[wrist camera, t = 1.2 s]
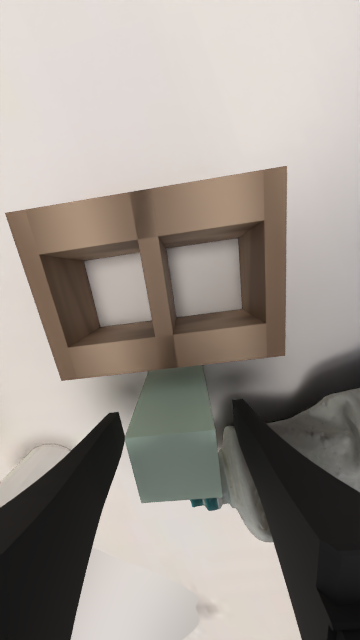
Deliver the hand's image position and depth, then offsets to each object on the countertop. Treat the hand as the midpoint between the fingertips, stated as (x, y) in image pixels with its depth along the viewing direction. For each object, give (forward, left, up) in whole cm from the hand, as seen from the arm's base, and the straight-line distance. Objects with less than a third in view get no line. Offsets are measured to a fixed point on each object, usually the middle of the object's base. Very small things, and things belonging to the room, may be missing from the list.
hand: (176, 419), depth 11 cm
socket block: (0, -8, -4) cm, 9 cm away
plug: (0, 0, -4) cm, 4 cm away
